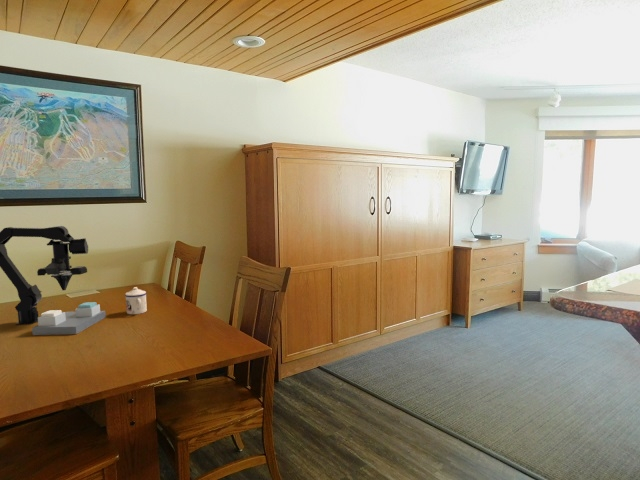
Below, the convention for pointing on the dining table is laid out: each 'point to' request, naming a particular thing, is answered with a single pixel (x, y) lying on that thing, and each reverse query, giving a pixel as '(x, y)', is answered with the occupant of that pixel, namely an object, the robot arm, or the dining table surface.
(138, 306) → the teacup with lid
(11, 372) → the dining table surface
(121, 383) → the dining table surface
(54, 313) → the cream key
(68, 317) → the grey rectangular board
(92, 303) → the teal key
